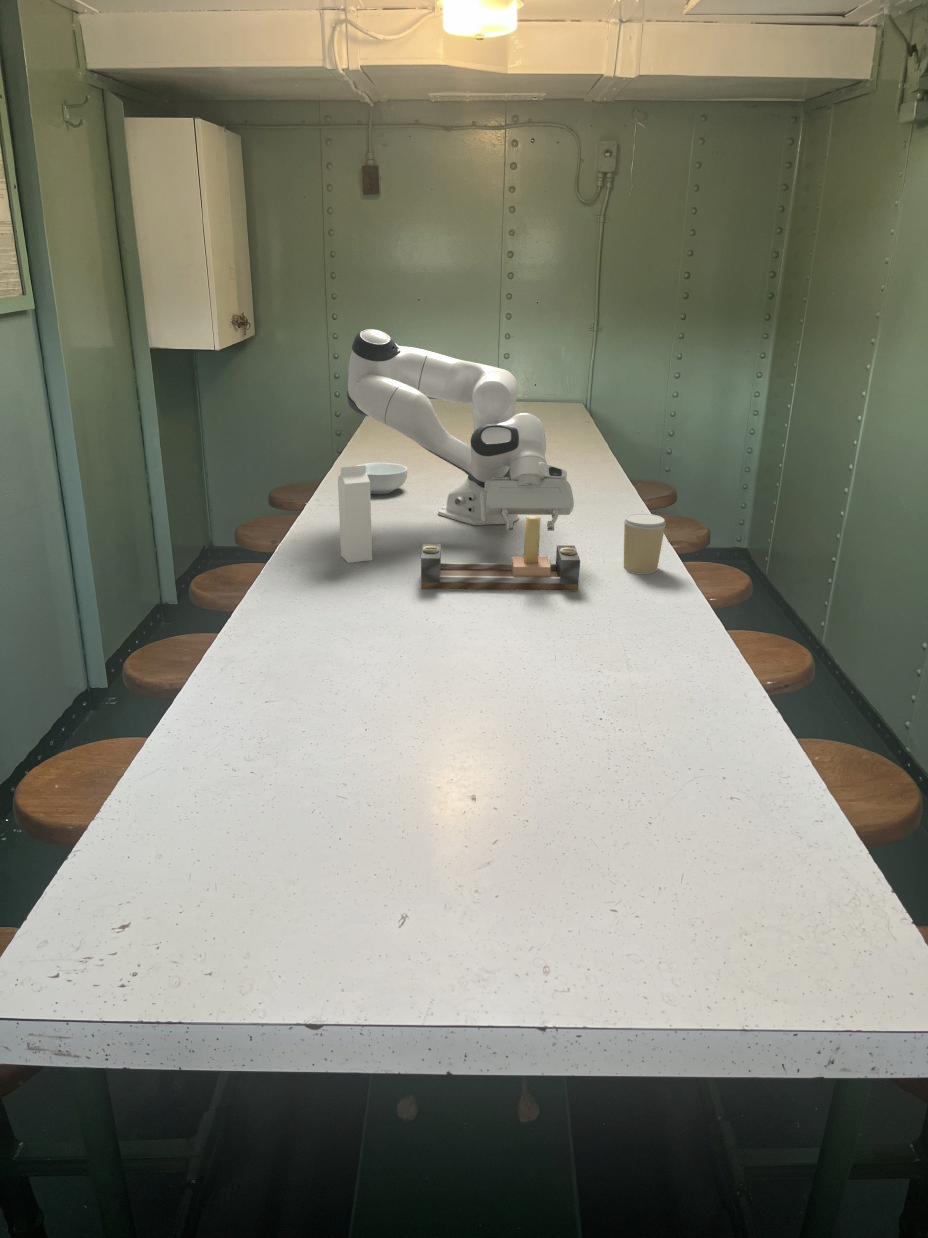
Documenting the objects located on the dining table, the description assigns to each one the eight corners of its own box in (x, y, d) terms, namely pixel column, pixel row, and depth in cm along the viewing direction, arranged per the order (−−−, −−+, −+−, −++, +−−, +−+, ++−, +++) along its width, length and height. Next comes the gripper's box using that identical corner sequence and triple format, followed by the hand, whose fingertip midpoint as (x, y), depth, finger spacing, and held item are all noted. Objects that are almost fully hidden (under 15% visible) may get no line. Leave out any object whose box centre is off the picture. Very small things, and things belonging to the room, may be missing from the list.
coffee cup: (663, 564, 207) (668, 515, 202) (657, 577, 199) (663, 526, 194) (623, 559, 210) (627, 511, 205) (616, 572, 201) (621, 521, 197)
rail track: (421, 588, 190) (421, 554, 187) (423, 573, 199) (422, 540, 196) (578, 590, 190) (580, 556, 187) (572, 574, 199) (574, 542, 196)
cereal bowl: (411, 485, 273) (411, 462, 270) (402, 499, 258) (402, 475, 255) (357, 483, 274) (356, 460, 272) (345, 496, 259) (345, 473, 256)
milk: (372, 560, 207) (370, 468, 198) (347, 563, 205) (344, 470, 196) (364, 552, 212) (362, 462, 203) (340, 555, 210) (336, 464, 201)
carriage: (513, 579, 191) (515, 522, 186) (511, 568, 197) (513, 512, 192) (549, 580, 191) (553, 522, 186) (547, 569, 197) (550, 513, 192)
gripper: (484, 469, 203) (485, 522, 198) (573, 470, 203) (576, 523, 198) (483, 483, 209) (484, 535, 203) (569, 484, 209) (572, 536, 204)
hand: (530, 529), depth 201 cm, fingers open, 8 cm apart
